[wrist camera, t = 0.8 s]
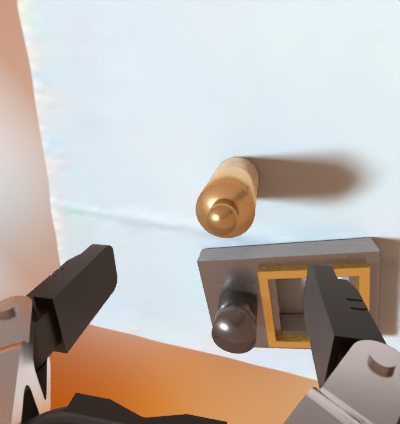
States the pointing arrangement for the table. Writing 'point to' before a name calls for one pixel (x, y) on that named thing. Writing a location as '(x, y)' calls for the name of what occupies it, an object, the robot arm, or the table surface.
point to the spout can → (229, 199)
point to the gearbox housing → (267, 288)
